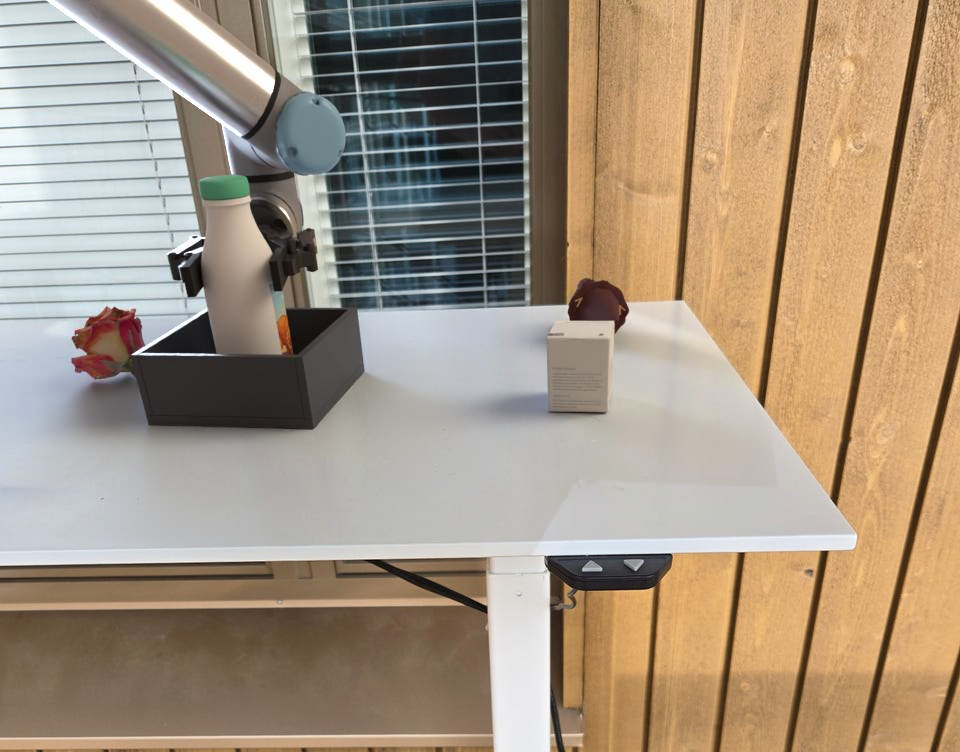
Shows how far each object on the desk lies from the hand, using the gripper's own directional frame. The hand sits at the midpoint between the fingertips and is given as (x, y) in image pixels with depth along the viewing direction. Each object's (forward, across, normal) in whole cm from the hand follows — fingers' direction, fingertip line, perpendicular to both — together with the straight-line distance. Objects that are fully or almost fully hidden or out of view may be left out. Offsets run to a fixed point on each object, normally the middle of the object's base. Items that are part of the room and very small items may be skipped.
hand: (232, 279), depth 84 cm
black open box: (-5, 0, -13) cm, 14 cm away
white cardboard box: (+4, -33, -13) cm, 35 cm away
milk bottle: (-5, 0, -12) cm, 13 cm away
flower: (-15, +18, -13) cm, 27 cm away
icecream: (-17, -38, -13) cm, 44 cm away
